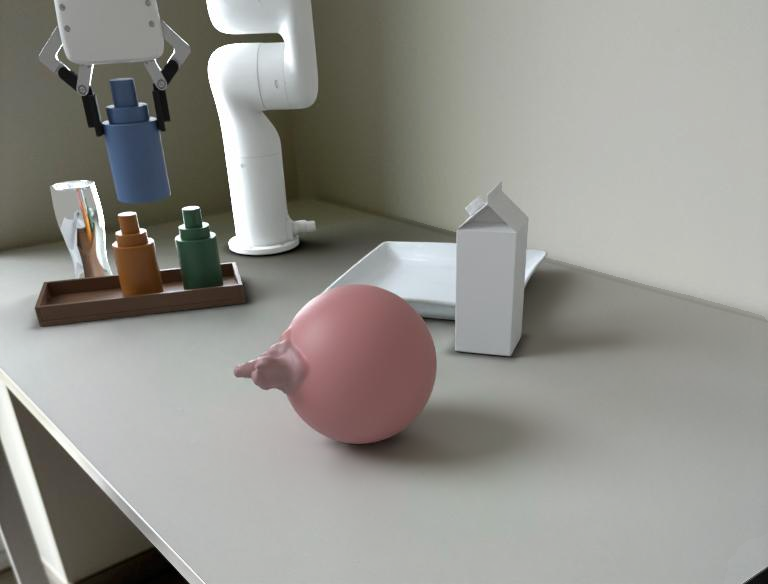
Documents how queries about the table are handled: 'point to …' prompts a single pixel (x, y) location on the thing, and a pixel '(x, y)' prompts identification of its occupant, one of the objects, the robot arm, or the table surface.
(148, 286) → the amber bottle
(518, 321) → the milk carton
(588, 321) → the table surface
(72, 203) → the beer glass
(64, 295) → the tray
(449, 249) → the square plate
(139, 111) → the blue bottle
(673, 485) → the table surface
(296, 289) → the table surface
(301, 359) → the balloon
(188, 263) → the green bottle
